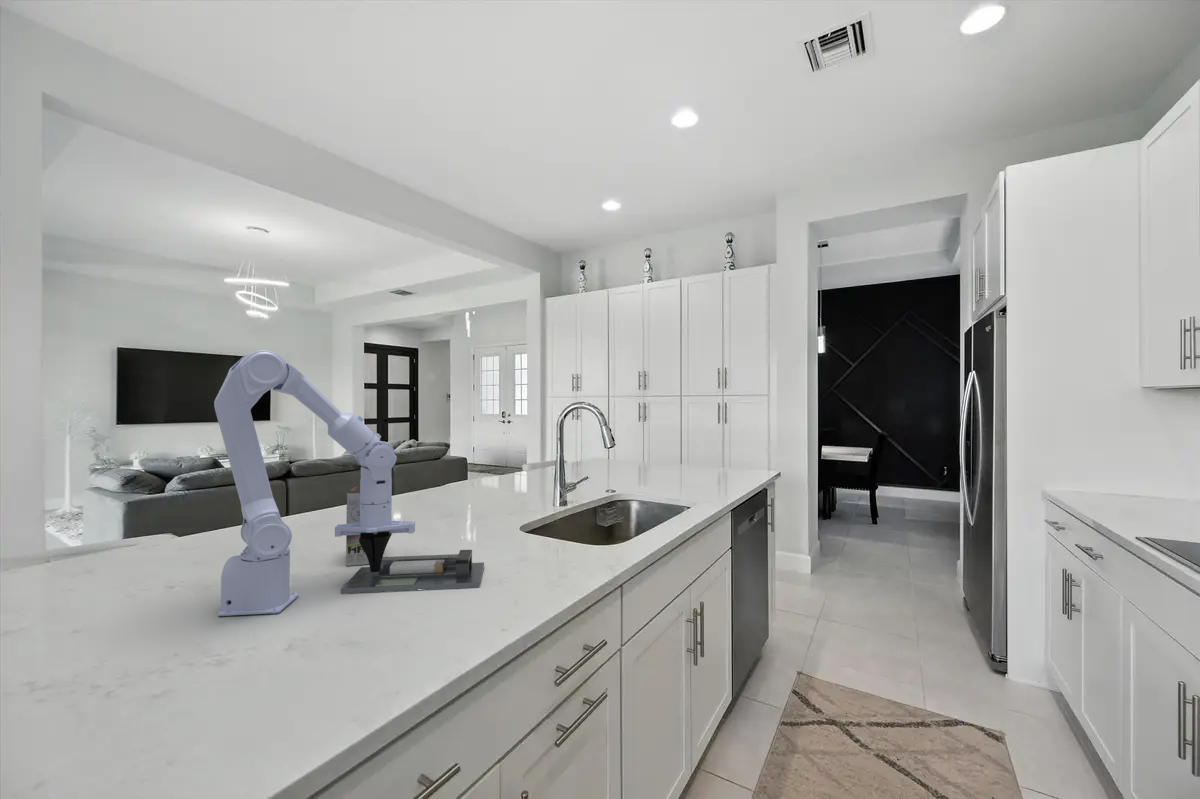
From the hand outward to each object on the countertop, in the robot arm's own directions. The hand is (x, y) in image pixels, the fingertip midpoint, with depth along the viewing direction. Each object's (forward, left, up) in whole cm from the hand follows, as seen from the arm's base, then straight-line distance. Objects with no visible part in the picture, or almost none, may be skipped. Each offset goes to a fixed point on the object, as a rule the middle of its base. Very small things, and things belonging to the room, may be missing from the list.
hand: (375, 570), depth 101 cm
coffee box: (-6, +15, -2) cm, 17 cm away
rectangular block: (+8, 0, -1) cm, 8 cm away
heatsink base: (+8, 0, -2) cm, 8 cm away
